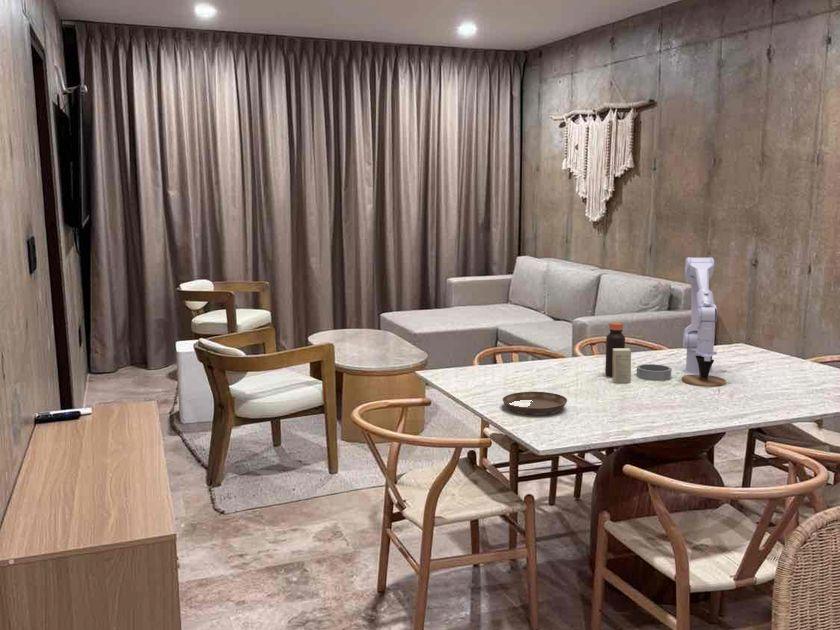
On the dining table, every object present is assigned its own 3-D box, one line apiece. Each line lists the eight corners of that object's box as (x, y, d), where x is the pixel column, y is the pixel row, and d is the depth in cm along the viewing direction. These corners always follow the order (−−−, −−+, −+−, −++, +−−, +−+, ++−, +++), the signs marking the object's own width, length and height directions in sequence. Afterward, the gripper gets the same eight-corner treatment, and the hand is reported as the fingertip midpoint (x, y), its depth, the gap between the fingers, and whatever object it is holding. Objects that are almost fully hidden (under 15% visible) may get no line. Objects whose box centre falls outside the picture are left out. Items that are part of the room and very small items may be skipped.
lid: (699, 374, 293) (700, 361, 292) (734, 382, 281) (735, 368, 280) (672, 380, 285) (673, 366, 284) (707, 388, 273) (708, 373, 272)
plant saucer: (489, 410, 251) (489, 400, 251) (524, 397, 267) (525, 387, 266) (545, 421, 238) (545, 411, 238) (578, 407, 254) (579, 397, 253)
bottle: (627, 376, 293) (629, 324, 290) (612, 378, 291) (614, 325, 288) (616, 372, 300) (618, 321, 296) (601, 374, 297) (603, 322, 294)
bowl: (652, 373, 299) (652, 362, 298) (677, 379, 289) (678, 368, 288) (630, 377, 293) (630, 366, 292) (655, 383, 283) (655, 372, 282)
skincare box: (629, 380, 288) (630, 347, 286) (630, 383, 284) (632, 350, 282) (611, 380, 288) (612, 347, 286) (612, 383, 284) (613, 350, 282)
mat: (699, 376, 293) (699, 375, 293) (732, 384, 281) (732, 382, 281) (674, 381, 285) (674, 380, 285) (707, 389, 274) (707, 388, 273)
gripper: (720, 344, 273) (718, 381, 275) (714, 336, 287) (712, 372, 289) (699, 343, 274) (697, 381, 276) (694, 335, 288) (692, 371, 290)
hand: (703, 376), depth 283 cm, fingers closed on lid, 3 cm apart
